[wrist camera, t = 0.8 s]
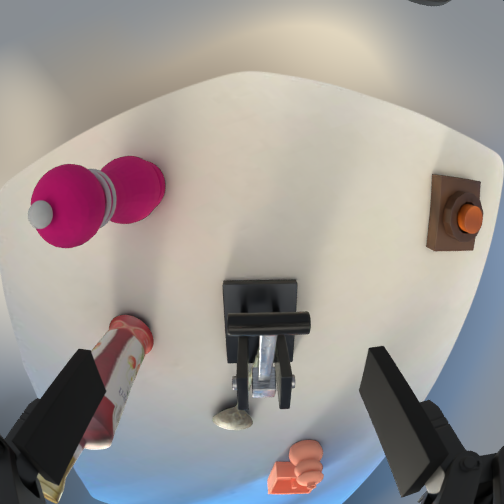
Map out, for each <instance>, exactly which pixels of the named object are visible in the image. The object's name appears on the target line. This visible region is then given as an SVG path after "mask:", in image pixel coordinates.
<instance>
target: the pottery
mask: <svg viewBox="0 0 504 504" xmlns="http://www.w3.org/2000/svg"><path fill="white" fill-rule="evenodd" d="M322 456H323V449H322V447H321V446H320V444H319V442H317V441H315V440H303V441H300V442H297V443H295V444H294V445H292V446H291V448H290V452H289V459H290V461H291V462H275V464H274V467H273V469H272V471H271V473H270V475H269V477H268V480H267V481H268V494H304V493H310V492H311V491H312V489H314V488H316V484H318V483H319V482H320V481H322V479H323V476H324V475H323V474H322V472H321V471H322V469H323V466H322V464H321V463H320V462H319V461H320V460H321V458H322Z"/></svg>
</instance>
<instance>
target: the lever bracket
mask: <svg viewBox="0 0 504 504" xmlns="http://www.w3.org/2000/svg"><path fill="white" fill-rule="evenodd" d="M223 301H224V318H225V333H226V348H227V361H228V363H237V374H236V376H233V377H232V388H233V390H237V399H238V410H249V363H254V361H255V359H256V357H255V356H256V355H257V354H258V353H257V351H258V348H259V336H228V331H227V317H228V314H229V313H277V312H296V303H297V281H296V280H244V281H223ZM294 336H295V335H278V336H277V340H276V347H275V354H274V360H273V363H274V364H275V372H276V382H277V391H278V399H279V408H280V409H289V408H290V400H291V390H292V388H295V376H294V374H293V375H292V371H291V365H290V362H292V361H293V350H294Z"/></svg>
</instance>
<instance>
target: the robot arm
mask: <svg viewBox="0 0 504 504" xmlns="http://www.w3.org/2000/svg"><path fill="white" fill-rule="evenodd" d="M503 1H504V0H503ZM359 392H360V394H361V397H362V399H363V401H364V404H365V406H366V409H367V411H368V413H369V416H370V418H371V421H372V423H373V425H374V428H375V430H376V433H377V435H378V438H379V440H380V443H381V445H382V448H383V450H384V453H385V455H386V457H387V460H388V463H389V466H390V468H391V471H392V473H393V476H394V479H395V481H396V484H397V486H398V489H399V492H400V495H401V497H405V496H408V495H410V494H413V493H416V492H418V491H420V490H421V488H422V487H423V486H424V485H425V486H426V488H427V491H426V492H425V493H424V494H423V496H422V497H421V498H420V499H419V500H418V502H419V503H420V502H421V501H422V502H421V504H504V446H503V447H502V448H501V449H500V450H499V451H498V453H494V454H489V455H483V456H479V455H478V454H477V453H475V452H473V451H466V450H465V448H464V447H463V445H462V444H461V442H460V441H459V439H458V437H457V435H456V434H455V432H454V430H453V429H452V427H451V426H450V424H448V421H447V419H446V418H445V417H444V415H443V413H442V411H441V410H440V408H439V407H438V406H437V405H436V404H434V403H433V402H431V401H430V400H427V401H424V402H419V401H418V399H417V398H416V396H415V394H414V393H413V391H412V389H411V388H410V386H409V385H408V383H407V381H406V380H405V378H404V377H403V375H402V373H401V372H400V370H399V369H398V367H397V366H396V364H395V363H394V361H393V359H392V358H391V356H390V355H389V353H388V352H387V350H386V349H385V347H384V346H379V347H372V348H369V350H368V355H367V359H366V364H365V368H364V372H363V377H362V381H361V385H360V389H359ZM105 393H106V389H105V386H104V384H103V381H102V379H101V376H100V374H99V371H98V369H97V366H96V363H95V361H94V358H93V355H92V353H91V350H84V349H78V350H77V352H76V353H75V354H74V355H73V357H72V358H71V359H70V360H69V362H68V363H67V364H66V366H65V367H64V368H63V369H62V371H61V372H60V373H59V375H58V376H57V377H56V379H55V380H54V381H53V383H52V384H51V385H50V387H49V388H48V389H47V391H46V392H45V393H44V395H43V396H42V397H41V399H38V398H37V399H35V400H34V401H33V402H31V403H30V404H29V405H28V407H27V408H26V409H25V411H24V413H22V415H21V416H20V419H18V420H17V422H16V423H15V425H14V426H13V428H12V429H11V431H10V432H9V434H8V435H7V437H6V438H5V439H3V437H2V436H1V435H0V504H46V501H45V498H44V494H43V491H42V488H41V484H40V481H39V479H38V478H37V475H38V473H39V474H40V475H41V476H42V477H43V478H44V479H45V480H46V481H49V482H51V483H53V484H55V485H58V486H59V485H60V483H61V480H62V478H63V476H64V474H65V472H66V470H67V468H68V465H69V463H70V461H71V459H72V457H73V455H74V453H75V451H76V449H77V447H78V445H79V443H80V441H81V439H82V437H83V435H84V433H85V431H86V429H87V427H88V425H89V423H90V421H91V419H92V418H93V416H94V414H95V412H96V410H97V408H98V406H99V404H100V402H101V401H102V399H103V397H104V395H105Z"/></svg>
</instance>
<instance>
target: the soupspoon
mask: <svg viewBox="0 0 504 504" xmlns="http://www.w3.org/2000/svg"><path fill="white" fill-rule="evenodd" d="M257 353H258V354H257V355H256V356H255V357H256V359H255V361H254V364H253V366H252V367H258V359H259V348H258V351H257ZM251 383H252V368H251V371H250V373H249V389H250V386H251ZM213 422H214V423H215V424H217V425H218V426H220V427H222V428H225V429H229V430H242V429H246V428H248V427H250V426H251V425H252V424H253V421H252V419H251V417H250V416H249V415H248V414H247V413H246V412H245V411H244V410H238V403H237V405H236V407H233V408H229V409H226V410H224V411H222V412H220V413H218V414H216V415H215V416H214V417H213Z"/></svg>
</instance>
